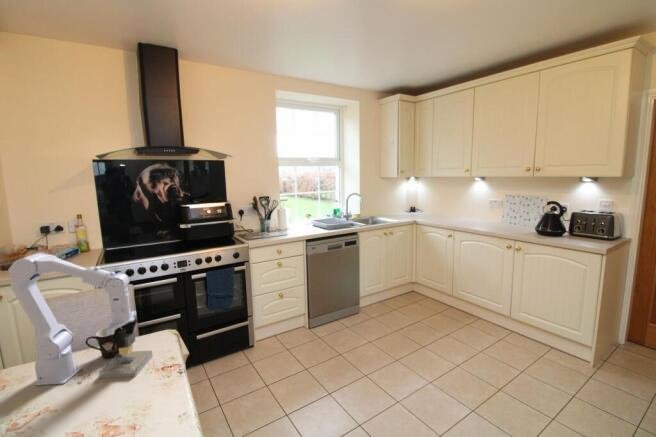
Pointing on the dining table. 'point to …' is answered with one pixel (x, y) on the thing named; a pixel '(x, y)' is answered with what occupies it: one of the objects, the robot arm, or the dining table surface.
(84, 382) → the dining table surface
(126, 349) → the plug
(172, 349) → the dining table surface
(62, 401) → the dining table surface
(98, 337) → the coffee mug
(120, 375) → the socket
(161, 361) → the dining table surface
